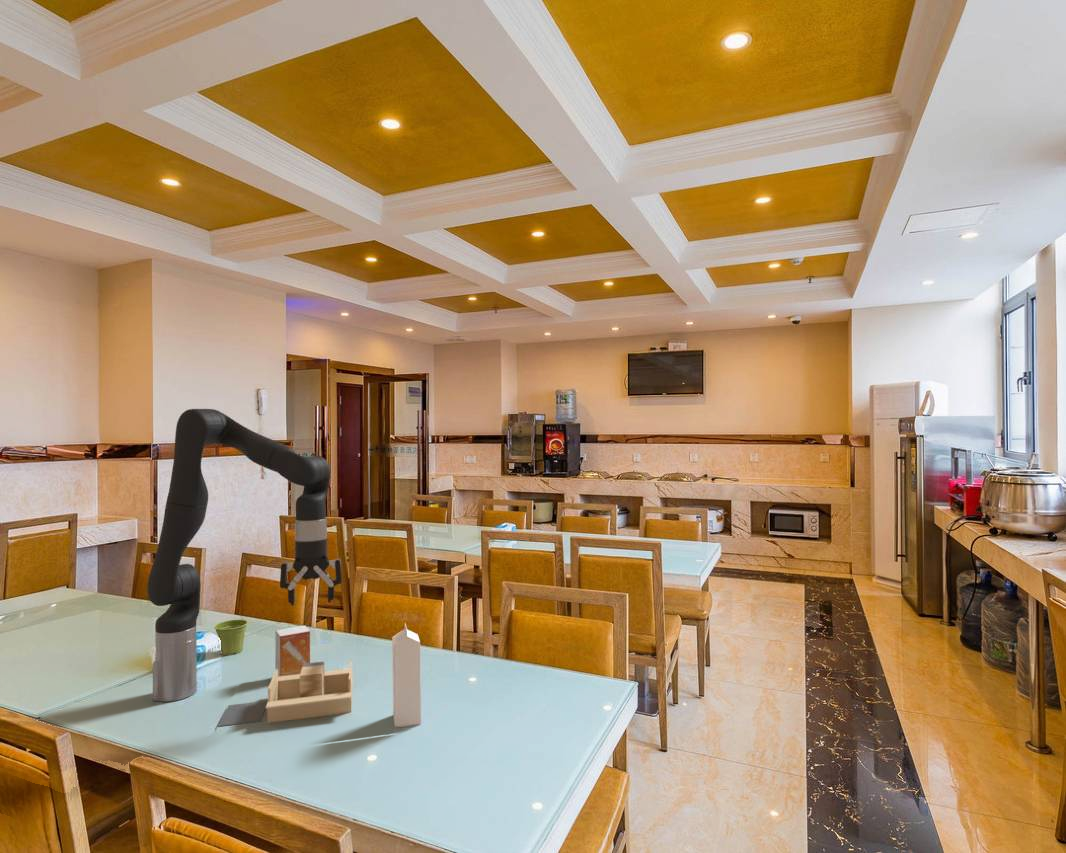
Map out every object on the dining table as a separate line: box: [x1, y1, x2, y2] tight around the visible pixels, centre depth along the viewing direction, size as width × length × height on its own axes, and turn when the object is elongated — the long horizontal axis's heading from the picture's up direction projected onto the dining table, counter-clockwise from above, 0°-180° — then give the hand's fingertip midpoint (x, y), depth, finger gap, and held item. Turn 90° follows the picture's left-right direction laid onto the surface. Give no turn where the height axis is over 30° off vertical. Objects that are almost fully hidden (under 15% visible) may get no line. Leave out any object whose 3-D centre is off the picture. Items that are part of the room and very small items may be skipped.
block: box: [300, 661, 325, 698], centre depth 149 cm, size 5×8×9 cm, turn 15°
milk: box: [391, 622, 422, 728], centre depth 141 cm, size 6×6×22 cm
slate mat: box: [217, 700, 268, 728], centre depth 145 cm, size 9×11×1 cm
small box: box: [274, 624, 311, 677], centre depth 167 cm, size 8×6×13 cm
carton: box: [265, 660, 354, 724], centre depth 149 cm, size 19×18×8 cm
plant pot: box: [213, 619, 249, 656], centre depth 188 cm, size 9×9×9 cm
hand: (311, 603), depth 149 cm, fingers open, 8 cm apart
